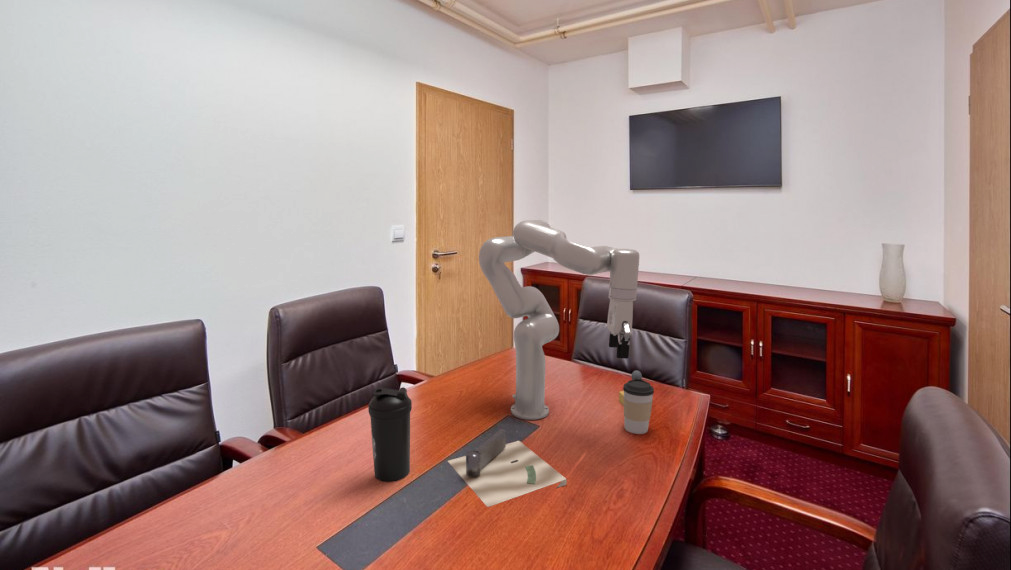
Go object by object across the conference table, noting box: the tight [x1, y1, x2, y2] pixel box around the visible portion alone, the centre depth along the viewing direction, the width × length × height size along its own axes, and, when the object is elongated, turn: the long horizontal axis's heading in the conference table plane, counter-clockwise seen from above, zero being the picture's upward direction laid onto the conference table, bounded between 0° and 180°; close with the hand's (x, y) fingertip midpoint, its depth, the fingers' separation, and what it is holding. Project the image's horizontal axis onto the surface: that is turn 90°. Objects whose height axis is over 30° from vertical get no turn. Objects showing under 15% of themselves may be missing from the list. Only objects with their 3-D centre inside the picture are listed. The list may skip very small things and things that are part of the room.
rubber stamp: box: [618, 370, 643, 407], centre depth 163 cm, size 10×6×12 cm, turn 99°
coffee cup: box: [622, 378, 655, 435], centre depth 144 cm, size 9×9×15 cm
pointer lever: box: [465, 428, 507, 477], centre depth 122 cm, size 17×4×5 cm, turn 150°
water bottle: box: [367, 386, 413, 483], centre depth 116 cm, size 10×10×23 cm
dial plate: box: [447, 440, 568, 508], centre depth 119 cm, size 22×22×2 cm
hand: (618, 352), depth 134 cm, fingers open, 9 cm apart
